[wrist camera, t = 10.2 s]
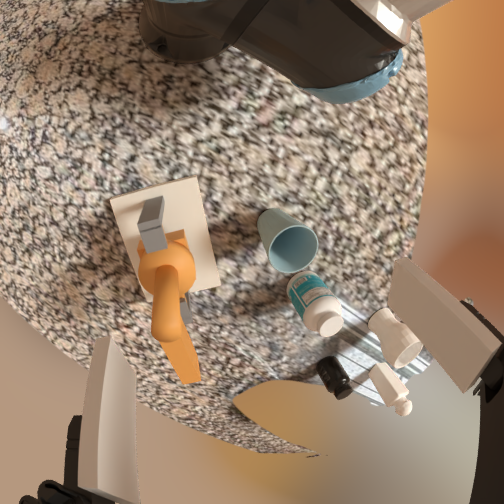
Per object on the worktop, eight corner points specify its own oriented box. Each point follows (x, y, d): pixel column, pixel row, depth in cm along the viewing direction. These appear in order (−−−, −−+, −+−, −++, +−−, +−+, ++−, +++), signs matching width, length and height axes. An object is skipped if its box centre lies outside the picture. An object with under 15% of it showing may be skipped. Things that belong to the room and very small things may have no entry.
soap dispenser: (365, 375, 84) (396, 422, 65) (375, 362, 82) (408, 410, 63) (377, 373, 87) (407, 417, 68) (387, 360, 84) (419, 405, 65)
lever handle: (161, 307, 46) (162, 388, 31) (129, 221, 37) (104, 288, 23) (206, 297, 47) (222, 375, 32) (181, 207, 39) (185, 268, 24)
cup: (280, 248, 51) (302, 278, 42) (243, 235, 48) (259, 266, 39) (299, 211, 49) (327, 235, 40) (262, 196, 46) (283, 218, 37)
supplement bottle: (322, 373, 75) (338, 404, 65) (311, 366, 72) (328, 399, 62) (340, 359, 74) (359, 389, 64) (330, 351, 71) (350, 384, 61)
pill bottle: (308, 301, 59) (335, 344, 48) (279, 296, 57) (304, 341, 45) (324, 273, 57) (357, 313, 45) (295, 265, 54) (326, 307, 42)
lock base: (111, 197, 39) (92, 224, 30) (196, 174, 41) (201, 194, 32) (148, 297, 49) (144, 340, 40) (219, 280, 51) (231, 321, 42)
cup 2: (396, 315, 72) (426, 349, 59) (369, 338, 73) (396, 374, 60) (389, 296, 67) (423, 332, 54) (358, 322, 68) (388, 361, 55)
